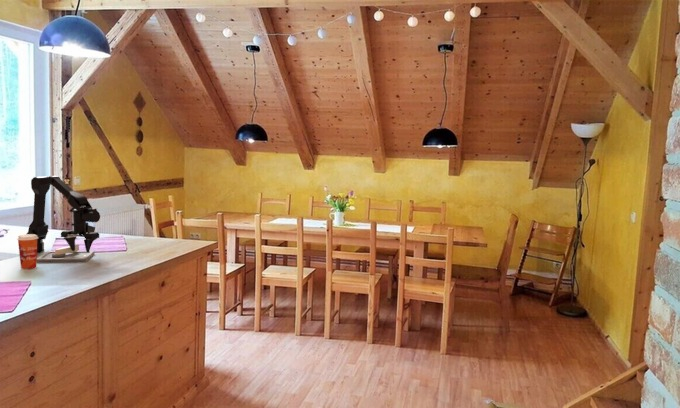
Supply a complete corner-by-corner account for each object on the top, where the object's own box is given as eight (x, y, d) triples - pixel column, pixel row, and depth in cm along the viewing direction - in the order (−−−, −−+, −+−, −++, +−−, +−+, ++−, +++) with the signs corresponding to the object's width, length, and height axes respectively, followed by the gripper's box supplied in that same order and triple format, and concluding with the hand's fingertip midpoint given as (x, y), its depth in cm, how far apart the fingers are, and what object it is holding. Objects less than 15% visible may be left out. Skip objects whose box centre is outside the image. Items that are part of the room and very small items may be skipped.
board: (35, 262, 242) (35, 258, 242) (47, 254, 258) (47, 250, 258) (85, 261, 247) (85, 257, 247) (94, 254, 263) (94, 250, 263)
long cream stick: (58, 257, 246) (57, 250, 246) (49, 256, 248) (48, 249, 248) (81, 252, 260) (81, 245, 259) (72, 251, 262) (72, 243, 261)
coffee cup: (19, 270, 227) (18, 237, 226) (17, 266, 234) (15, 234, 232) (40, 268, 233) (39, 236, 231) (37, 264, 239) (36, 233, 237)
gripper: (106, 220, 258) (107, 249, 260) (76, 217, 263) (77, 247, 264) (90, 223, 247) (91, 254, 249) (59, 220, 252) (60, 251, 254)
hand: (80, 251), depth 254 cm, fingers open, 8 cm apart
